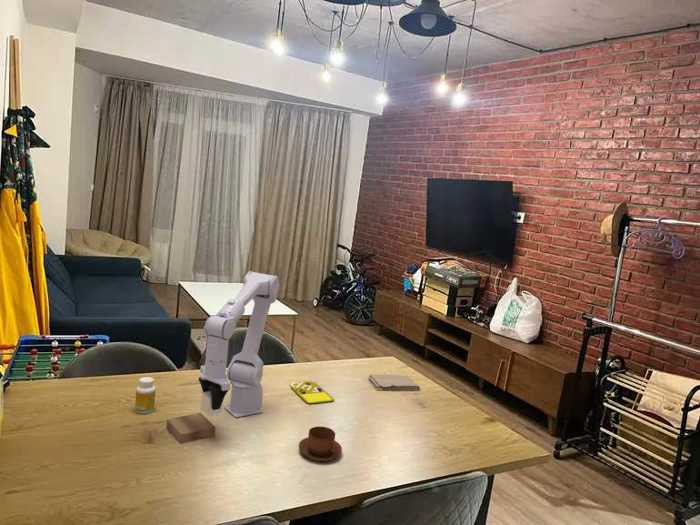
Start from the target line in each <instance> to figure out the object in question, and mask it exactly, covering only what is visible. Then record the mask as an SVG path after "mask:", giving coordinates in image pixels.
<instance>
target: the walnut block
mask: <svg viewBox="0 0 700 525" xmlns="http://www.w3.org/2000/svg"><path fill="white" fill-rule="evenodd" d="M166 429H167V430H168V431H169V433H170V434H171V435H172V436H173V437H174V439H176V441H177V442H178V443H179V444H181V445H182V444H183V443H190V442H193V441H198V440H201V439H206V438H210V437H215V435H216V426H215V425H214V424H213V423H212V422H211V421H210V420H209V419H208V418H207V417H206V416H205V415H204V414H203V413H201V412H198V413H192V414H186V415H182V416H177V417H176V416H175V417H172V418H167V419H166Z"/></svg>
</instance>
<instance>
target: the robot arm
mask: <svg viewBox="0 0 700 525" xmlns="http://www.w3.org/2000/svg"><path fill="white" fill-rule="evenodd" d="M279 290H280V280H279V277H278V276H277V275H271V274H267V273H262V272H255V271H252V270H250V271H248V272H247V273H246V274H245V276H244V278H243V286H242V288H241V289H240V290H239V291H238V293H237V295H236V297H235V298H231V299H229V300H227V302H226V303H225V304H224V305H223V306H222V307H221V309H220V310H219V311H218V312H217V313H216V314H215V315H214V314H213V315H211V316H209V317H208V318H207V319H206V321H205V323H204V326H203V332H204V335H205V336H204V337H205V339H204V340H205V342H206V350H205V362H204V365H203V364H202V365H200V370H199V372H200V373H201V374H200V375H199V376H198V383H199V384H200V386H201V390H202V392H208V391H210V393H211V405H212V410H217V409H220V407H221V404H222V402H223V403H224V401H223V399H224V400H225V397H226V396H227V393H229V391H231V392H230V402H229V405H225V406H223V408H224V409H225V410H226V411H227V412H228V413H229V414H230V415H232V416H233V417H234V418H237V419H238V418H241V417H246V416H251V415H256V414H261V413H263V410H262V405H263V404H262V403H263V397H264V396H263V395H264V391H263V390H264V389H263V386H262V383H261V382H262V379H263V376H264V372H263V370H264V362H263V359H262V358H260V356H259V355H258V354H259V349H260V345H261V342H262V339H263V334H264V331H265V328H266V327H265V326H266V323H267V319H268V316H269V312H270V308H271V304H273V303H276V300H277V297H278V293H279ZM252 300H253V304H254V305H253V307H252V312H251V316H250V318H249V319H250V320H249V322H248V323H249V324H248V327H247V330H246V335H245V338H244V342H243V346H242V348H241V349H242V350H241V352H239V353H237V354H234V355H233V356H232V357H231V361H230V363H229V365H228V366H227V362H228V354H229V353H228V352H229V351H228V350H229V343H230V342H229V340H230V338H231V337H232V336H233V334H234V331H235V329H236V328H237V327H236V326H237V322H239V320H240V319H241V318H242V317H243V315H244V314H245V312H246V310H245V309H246V308H245V307H246V305H248V304H249V303H250V302H251V301H252ZM250 363H251V364H250ZM230 389H231V390H230Z"/></svg>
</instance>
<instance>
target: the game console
mask: <svg viewBox="0 0 700 525" xmlns="http://www.w3.org/2000/svg"><path fill="white" fill-rule="evenodd" d="M289 386H290V387H291V388H290V387H289V388H290V390H292V391H293V393H295V395H297V396H298V397H299V398H300V399H301V400H302V401H303V402H304V403H305V404H306V405H308V406H312V405H321V404H329V403H334V402H335V398H334V397H333V396H332V395H331V394H329V393H328V392H327V391H326V390H325V389H324V388H322V386H320V385H319V384H318V383H317V382H316V381H313V380H312V381H311V380H309V381H298V382H296V381H294V382H292V383H291V384H290V385H289Z"/></svg>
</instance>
